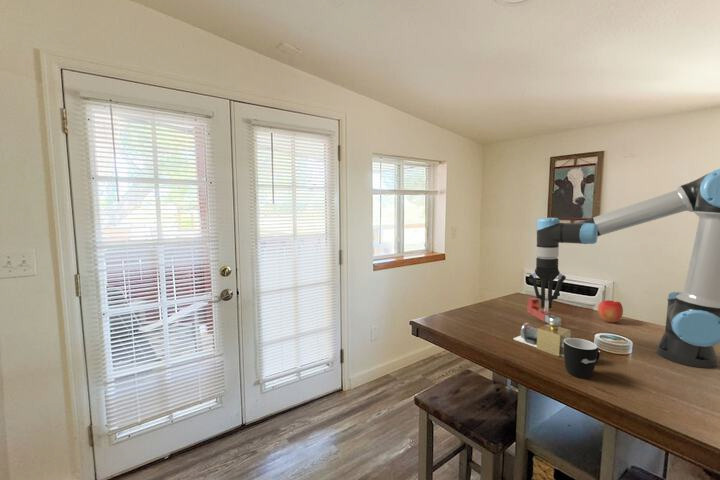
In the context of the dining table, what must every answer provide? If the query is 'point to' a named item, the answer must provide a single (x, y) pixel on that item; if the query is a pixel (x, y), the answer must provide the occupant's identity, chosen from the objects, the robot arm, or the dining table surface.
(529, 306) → the lever
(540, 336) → the valve
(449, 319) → the dining table surface
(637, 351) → the dining table surface
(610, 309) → the apple
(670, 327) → the robot arm
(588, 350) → the mug
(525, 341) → the board
